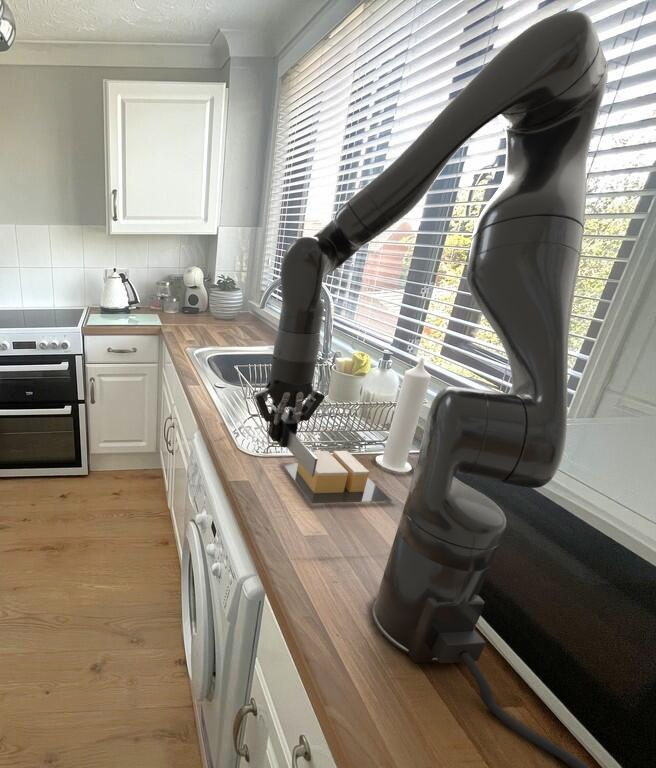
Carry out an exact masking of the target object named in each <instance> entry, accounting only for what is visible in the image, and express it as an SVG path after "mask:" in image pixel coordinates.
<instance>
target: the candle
mask: <svg viewBox="0 0 656 768" xmlns="http://www.w3.org/2000/svg"><path fill="white" fill-rule="evenodd" d="M431 378H432V375H431V374H430V373H429V372H428V371H427V370H426V368H425V359H424V358H423V357H421V358H420V359H419V361H418V362H417V364H416V366H415V367H412V368H410V369H407V370H405V371H404V375H403V378H402V383H401V386H400V389H399V394H398V397H397V402H396V405H395V409H394V412H393V416H392V420H391V423H390V427H389V431H388V434H387V435H388V436H387V439H386V442H385V443H386V444H385V447H384V451H383V454H380V455H377V456H375V461H376V463H377V464H379V465H380V466H381V467H383V468H385V469H387V470H390V471H393V472H399V473H407V472H410V471H412V465H411V463H410V462H408V458H409V455H410V451H411V449H412V444H413V441H414V437H415V433H416V430H417V428H418V427H417V426H418V424H419V420H420V416H421V414H422V413H421V412H422V410H423V406H424V402H425V399H426V396H427V392H428V390H429V385H430V382H431Z"/></svg>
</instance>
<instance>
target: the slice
mask: <svg viewBox="0 0 656 768" xmlns="http://www.w3.org/2000/svg"><path fill="white" fill-rule="evenodd" d="M331 455H332V456H333V457H334V458H335V459H336V460H337V461H338V462H339V463H340V464H341V465H342V466H343V467H344V468H345V469H346V470H347V472H348V476H347V480H346V484H345V487H346V489H347V490H348V491H349V492H364V490H365V486H366V482H367V478H369V474H370V471H369V470H368V469H367V468H366V467H365V465H363V464H362V463H360V462H359V460H358V459H356V458H355V456H353V454H351V453H350V452H349V450H333V451H332V454H331Z"/></svg>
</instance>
